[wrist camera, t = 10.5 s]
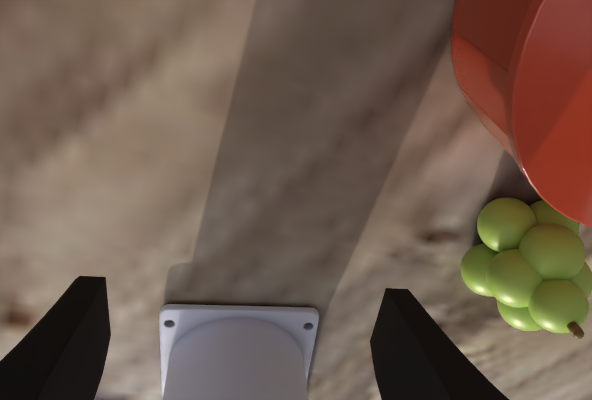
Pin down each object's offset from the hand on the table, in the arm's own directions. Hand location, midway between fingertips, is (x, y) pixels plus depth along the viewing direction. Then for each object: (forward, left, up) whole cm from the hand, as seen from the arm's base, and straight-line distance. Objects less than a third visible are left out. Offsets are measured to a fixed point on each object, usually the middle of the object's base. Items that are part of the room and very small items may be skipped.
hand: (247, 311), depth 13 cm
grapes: (-4, -13, -9) cm, 16 cm away
